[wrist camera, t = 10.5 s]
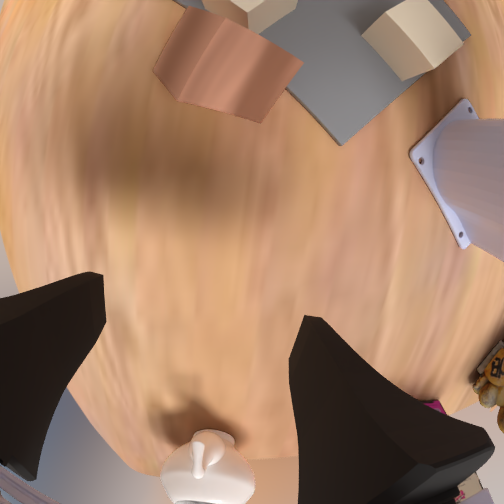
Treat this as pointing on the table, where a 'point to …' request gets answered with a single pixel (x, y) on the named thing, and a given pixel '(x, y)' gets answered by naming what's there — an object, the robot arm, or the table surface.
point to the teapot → (208, 471)
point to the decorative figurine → (492, 382)
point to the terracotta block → (224, 66)
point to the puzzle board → (350, 50)
